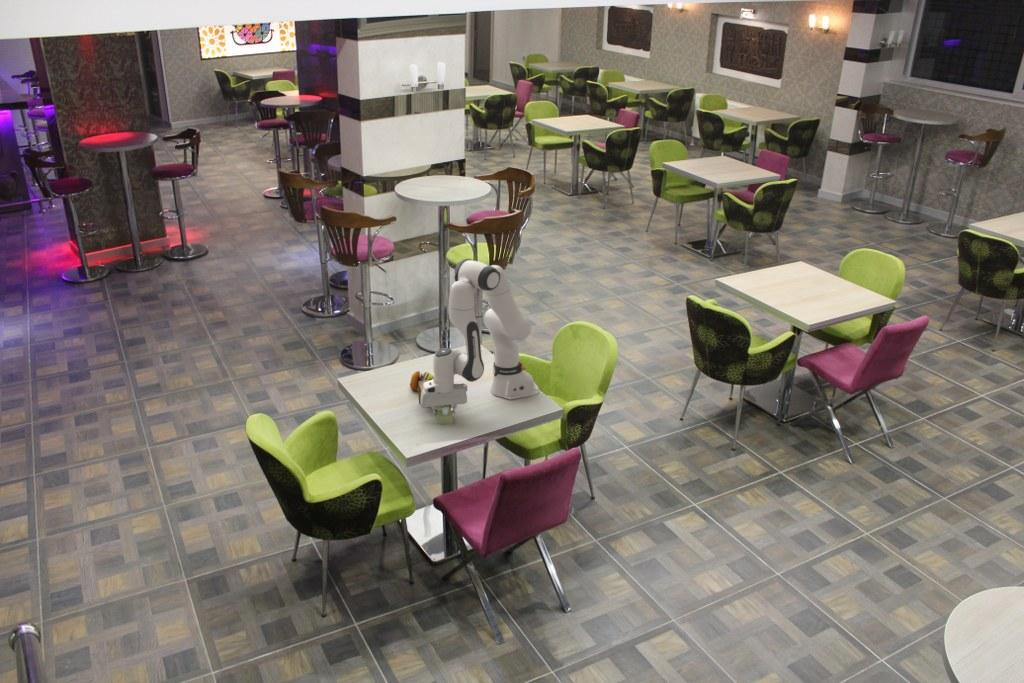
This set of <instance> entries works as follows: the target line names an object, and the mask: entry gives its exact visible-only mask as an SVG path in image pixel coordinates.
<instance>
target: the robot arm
mask: <svg viewBox="0 0 1024 683" xmlns="http://www.w3.org/2000/svg"><path fill="white" fill-rule="evenodd" d="M505 272H506V271H505V270H504V268H503V267H501V265H498V264H497V265H496V264H492V265H488V264H487V263H484V262H482V261H479V260H478V261H477V260H473V259H470V258H463V259H461V260H459V261H458V263H457V264H456V266H455V269H454V282H453V283H452V284H451V287H450V291H449V295H448V296H449V297H448V309H447V310H448V312H447V313H448V318H449V321H450V322H451V324H452V325H453V326H454V327H455V328H456V329H457V330H458V331H459V333H460V334H462V336H463V338H464V340H465V348H466V349H465V350H466V352H464V351H461V350H453V349H451V348H449V347H443V348H441V347H440V348H439V349H437V350H436V351H435V352H434V356H433V365H432V367H433V368H432V369H433V373H434V374H433V376H434V378H433V380H430V381H428V382H425V383H423V390H422V392H421V399H420V402H421V404H420V406H421V407H422V408H431V410H432V411H433V415H434V416H436V415H437V410H435V406H444V405H451V408H450V409H451V411H452V414H455V410H456V408H457V407H458V406H457V405H464V404H466V403H467V402H468V397H467V392H468V385H467V384H466V383H464V382H463V383H455V375H458V376H460V377H462V378H463V379H465V380H466V381H468V382H471V383H472V382H476V381H478V380H479V379H480V378H481V377H483V374H484V372H485V365H484V361H483V358H482V349H481V346H482V345H481V337H480V329H479V325H478V323H477V320H476V312H475V308H476V306H475V303H476V302H475V293H476V292H477V289H478V290H479V289H480V290H482V291H484V292H485V296H486V299H487V301H488V303H487V304H488V306H489V308H488V310H486V312H485V313H484V315H483V325H484V326H485V327H486V328H487V330H488V333H489V334H490V337H491V340H492V344H493V348H494V352H493V353H494V362H493V367H492V374H493V379H492V383H491V387H490V393H491V394H492V395H494V396H497V397H500V398H505V399H507V400H509V401H511V400H516V399H522V398H526V397H532V396H537V395H538V394H539V392H540V388H539V386H538V385H537V384H536V383H535V381H534V377H533V376H532V375H531V374H530V373H529V372H527V371H526V366H525V365H523V363H522V362H521V361H520V360H519V358H520V357H519V356H520V354H519V351H520V348H519V346H518V344H517V342H516V341H520V342H521V341H526V339H527V338H528V337H529V336H530V335H531V332H532V323H531V322H530V321H529V320H528V319H527V318H526V317H525V316H524V314H523V313H522V311H521V310H520V308H519V306H518V305H517V303H516V301H515V299H514V296H513V293H512V290H511V286H510V282H509V279H508V277H507V274H506V273H505Z"/></svg>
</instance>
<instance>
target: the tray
mask: <svg viewBox="0 0 1024 683" xmlns="http://www.w3.org/2000/svg"><path fill="white" fill-rule="evenodd" d="M434 409H435V410H437V415H435V416H436V418H437V421H438V424H439V425H445V424H446V425H447V424H454V415H453V414H454V413H452V411H451V409H450V407H449V405H444V406H435V408H434Z"/></svg>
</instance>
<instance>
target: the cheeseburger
mask: <svg viewBox="0 0 1024 683" xmlns="http://www.w3.org/2000/svg"><path fill="white" fill-rule="evenodd" d="M433 378H434V374H431V373H430V372H429V371H425V372H424V373H422V372H420V371H419V370H418V371H414V373H412V375H411V378H410V383H409V387H410V389H411V390H412V391H414V392H415V391H417V392H419V388H418V381H427V380H433Z"/></svg>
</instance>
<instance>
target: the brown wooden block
mask: <svg viewBox="0 0 1024 683" xmlns="http://www.w3.org/2000/svg"><path fill="white" fill-rule="evenodd" d="M428 381H430V380H427V381H418V388H419V391H418V404H419V405H421V402H420V399H421V392H422V390H423V383H425V382H428ZM449 407H450V408H452V405H449Z"/></svg>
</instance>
